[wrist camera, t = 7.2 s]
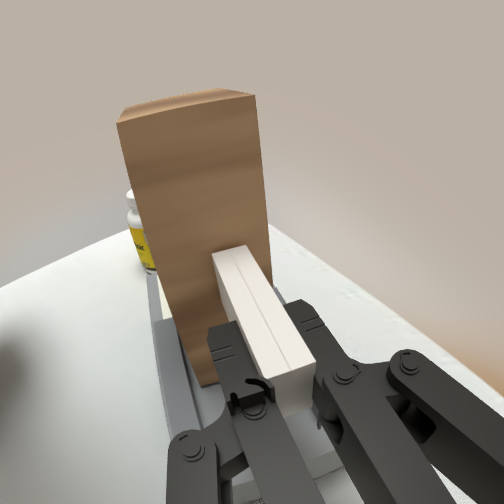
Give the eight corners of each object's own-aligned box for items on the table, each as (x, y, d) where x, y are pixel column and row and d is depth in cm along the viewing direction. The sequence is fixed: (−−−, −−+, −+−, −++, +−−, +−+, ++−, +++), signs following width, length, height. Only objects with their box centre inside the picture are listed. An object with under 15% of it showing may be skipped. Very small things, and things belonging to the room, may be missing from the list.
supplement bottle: (141, 257, 41) (119, 188, 35) (180, 246, 42) (163, 176, 36) (145, 281, 36) (120, 205, 31) (189, 267, 38) (170, 190, 32)
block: (278, 362, 19) (255, 94, 11) (200, 386, 18) (116, 123, 10) (249, 302, 24) (218, 88, 16) (183, 321, 23) (125, 107, 15)
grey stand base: (352, 462, 17) (372, 422, 14) (206, 512, 15) (175, 490, 12) (255, 288, 33) (248, 234, 30) (161, 314, 31) (141, 262, 28)
